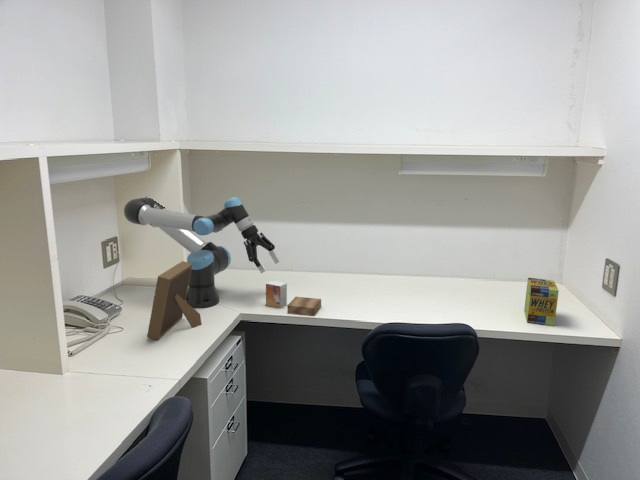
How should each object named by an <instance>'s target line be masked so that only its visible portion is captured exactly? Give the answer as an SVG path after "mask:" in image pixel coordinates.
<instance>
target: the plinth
mask: <svg viewBox="0 0 640 480" xmlns="http://www.w3.org/2000/svg"><path fill="white" fill-rule="evenodd" d="M286 306H287V314H292V315H301V316H308V315H309V316H308V317H310V316H311V317H315V315H317V313H318V312H319V310H320V309H321V307H322V298H315V297H303V296H295V297H294V298H293V299H292V300H290V302H289V303H287V305H286Z"/></svg>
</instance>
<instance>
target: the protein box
mask: <svg viewBox="0 0 640 480" xmlns="http://www.w3.org/2000/svg"><path fill="white" fill-rule="evenodd" d="M558 299H559V289H558V286H557V284H556V283H555V280H552V279H551V280H550V279H544V278H535V277H527V283H526V292H525V301H524V310H523V311H524V315H525V319H526V320H525V321H526V323H527V324H535V325H543V326H549V327H555V321H556V317H557V316H556V314H557V306H558Z"/></svg>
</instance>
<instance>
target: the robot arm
mask: <svg viewBox="0 0 640 480" xmlns="http://www.w3.org/2000/svg"><path fill="white" fill-rule="evenodd" d="M147 197H148V196H145V197H139V198H134V199H130V200H129V201H128V202H127V203H126V204H125V205H124V209H123V214H124V217H125V219H126V220H127V221H128V222H129V223H131V224H135V225H141V226H147V225H150V226H151V227H152V228H159V229H160V230H161V231H162V232H164V233H165V234H166V235H168V236H169V237H170V238H171V239H173V240H174V241H175V242H177V243H178V244H179V245H180V246H182V247H183V248H184V249H186V251H188V252H189V254H188V255H187V256H186V257H187V258H186V260H187V261H186V262H188V263H191V264H193V265H192V270H191V275H190V280H189V285H188V290H187V295H186V300H185V301H186V302H187V303H188V304H189V305H190V306H191V307H192V308H194V309H202V308H203V309H204V308H205V309H206V308H209V307H214V306H215V305H218V304H219V303H220V295H219V293H218V290H217V288H216V286H215V285H216V284H215V283H216V282H215V276H216V275H217V274H220V273H222V272H224V271H225V270H226V269H227V268H228V267H229V266H230V264H231V260H232V258H231V254H230V251H229V250H228V249H227V248H226V247H225V246H219V245H218V246H217V245H216V244H214V243H213V242H212V241H205V240H204V239H203V237H200V236H208V235H210V234H211V233H216V234H217V233H218V232H221V231H223V230H224V229H225V228H226V227H228V226H230V224H233V223H234V224H235V226H236V229H238V231H239V232H240V235H241V236H242V238H243V239H244V240H245V241H243V246H245V250H246V254H247V258H248V262H250V263H254V265H255V266H256V267H257V270H258V271H259V273H260V274H261V275H262V274H263V273H265V272H267V269H266V268H265V266H264V264H263V263H262V261H261V259H260V258H258V251H257V247H258V246H261V247H262V248H264V249H265V250H267V251H268V254H269V256H270V258H271V259H272V261H273V263H274V264H275V265H276V264H278V263H280V262H281V260H280V259H279V256H278V255H277V253H276V251H275V248H276V246H275V244H273V243H272V242H271V241H270V240H269V239H268V238H267V237H266V236H265V235H264V234H263V232H260V233H258V232H259V229H258V228H257V226H256V224H254V221H253V220H252V218H251V217H250V215H249V213H248V211H247V210H246V208H245V206H244V205H243V203H242V202H241V200H240V199H239V197H237V196H234V197H233V196H232V197H230V198H229V199H227V200H226V201H225V202H224V203H223V206H224V207H223V209H222V210H220V211H219V212H218V211H217V213H214V214H211V215H207V216H202V215H197V214H193V213H192V214H191V213H187V212H180V211H179V212H178V211H175V210H170V209H169V210H166V208H165V207H163V206H162V205H160V204H159V203H157V202H156V201H154V200H153V199H151V198H147Z"/></svg>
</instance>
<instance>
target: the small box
mask: <svg viewBox="0 0 640 480" xmlns="http://www.w3.org/2000/svg"><path fill="white" fill-rule="evenodd" d="M287 292H288V282H281V281H275V280H270V281H269V282H266V283H265V306H267V307H268V306H269V307H272V308H277V309H282V308H283V307H285V306H287V305H288V295H287V294H288V293H287Z"/></svg>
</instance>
